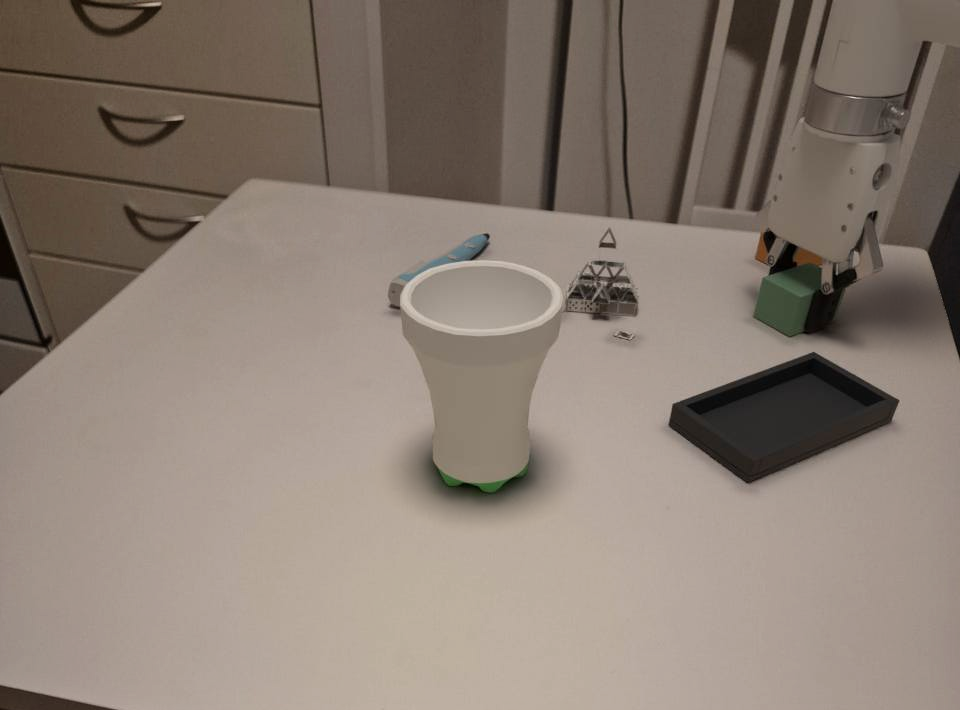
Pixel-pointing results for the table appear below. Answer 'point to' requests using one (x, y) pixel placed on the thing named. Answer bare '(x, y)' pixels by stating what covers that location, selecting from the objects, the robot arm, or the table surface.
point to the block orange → (800, 258)
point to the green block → (789, 298)
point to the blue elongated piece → (437, 264)
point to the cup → (481, 361)
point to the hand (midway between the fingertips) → (795, 314)
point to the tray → (781, 415)
